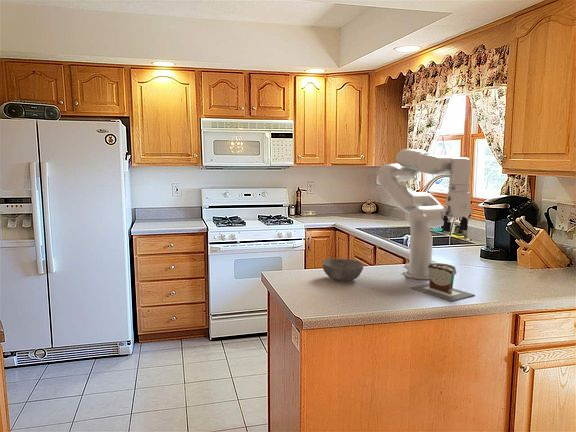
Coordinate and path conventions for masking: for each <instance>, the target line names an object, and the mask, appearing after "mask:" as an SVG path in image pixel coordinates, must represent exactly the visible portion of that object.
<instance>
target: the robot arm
mask: <svg viewBox="0 0 576 432" xmlns="http://www.w3.org/2000/svg"><path fill="white" fill-rule="evenodd" d="M395 159H396V163H386V164H384V165H382V166H381V167H380V168H378V169H379V170H378V172H377V179H378V182H379V186H380V187H381V188H382V190H383V191H384V192H385V193H387V195H389V196H390V198H392V199H393V201H394V202H395V203H396V205H398V206H399V208H401V210H403V212H405V213H408V214H409V215H408V218H409V219H408V221H409V227H410V229H409V230H410V239H409V241H410V243H409V245H410V246H409V260H408V261H409V262H408V263H405V264H404V265H403V268H404V269H405V270H406V271H405V272H404V274H405V275H404V276H406V277H407V278H410V279H414V280H421V281H422V280H423V281H425V280H427V281H429V268H428V265H429V263H432V261H433V260H432V257H433V256H432V255H433V234H432V232H431V229H430V228H440V227H443V228H442V229H443V230H442V231H443V232H446V233H450V232H451V228H452V222H451V221H452V219H453V218H454V219H455V218H456V219H457V218H461V219H460V222H459V230H462V231H467V230H468V223H469V220H470V218H471V216H472V213H473V209H472V207H471V193H470V192H469V190H470V180H471V167H472V159H471V158H469V157H458V156H453V155H430V153H428V152H427V151H425V150H423V149H419V148H417V149H415V148H405V149H401V150H400V151H399V152H397V155H396V158H395ZM419 173H425V174H428V175H449V181H448V183H449V184H448V191H447V195H446V199H445V205H444V206H445V207H444V206H443V205H442V204H441V203H440V201H438V200H437V199H436V198H435V197H434V196H433V195H432V194H431V193H429V192H425V191H418V192H417V191H413V190H410V188H408V186H407V185H406V184H404V183H402V182H409V181H411V180H413V179H414V178H415V177H416V176H417V175H418V174H419Z"/></svg>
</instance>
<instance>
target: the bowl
mask: <svg viewBox="0 0 576 432" xmlns="http://www.w3.org/2000/svg"><path fill="white" fill-rule="evenodd" d="M364 266H365V265H364V263H363V262H361V261H359V260H355V259H351V258H325V259H324V260H323V261H322V269H323V272H324V273H325V274H326V275H327V276H328V277H329V278H330V279H333V280H336V281H337V280H338V281H343V282H351V281H354V280H355V279H357V278H358V277H360V275H361V273H362V272H363V270H364Z"/></svg>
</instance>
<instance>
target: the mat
mask: <svg viewBox="0 0 576 432" xmlns="http://www.w3.org/2000/svg"><path fill="white" fill-rule="evenodd" d="M410 289H412V290H415V291H417V292H420V293H424V294H427V295H429V296H432V297H436V298H439V299H442V300H443V301H444V300H445V301H449V302H451V303H452V302H456V301H460V300H464V299H468V298H471V297H475V294H474V293H470V292H467V291H465V290H464V291H463V290H460V289H456V288H453V287H452V293H450V294H447V293H444V292H441V291H437V290H434V289H431V288H429V282H428V283H424V284H419V285H415V286H410Z"/></svg>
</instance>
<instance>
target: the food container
mask: <svg viewBox="0 0 576 432" xmlns="http://www.w3.org/2000/svg"><path fill="white" fill-rule="evenodd" d="M428 268H429V279H428V283H429V288H431V289H434V290H437V291H441V292H444V293H447V294H450V293H452V288H453V286H454V281H455V280H454V279H455V275H457V268H456V266H454V265H451V264H448V263H442V262H441V263H440V262H439V263H436V262H431V263H429V265H428Z"/></svg>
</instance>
